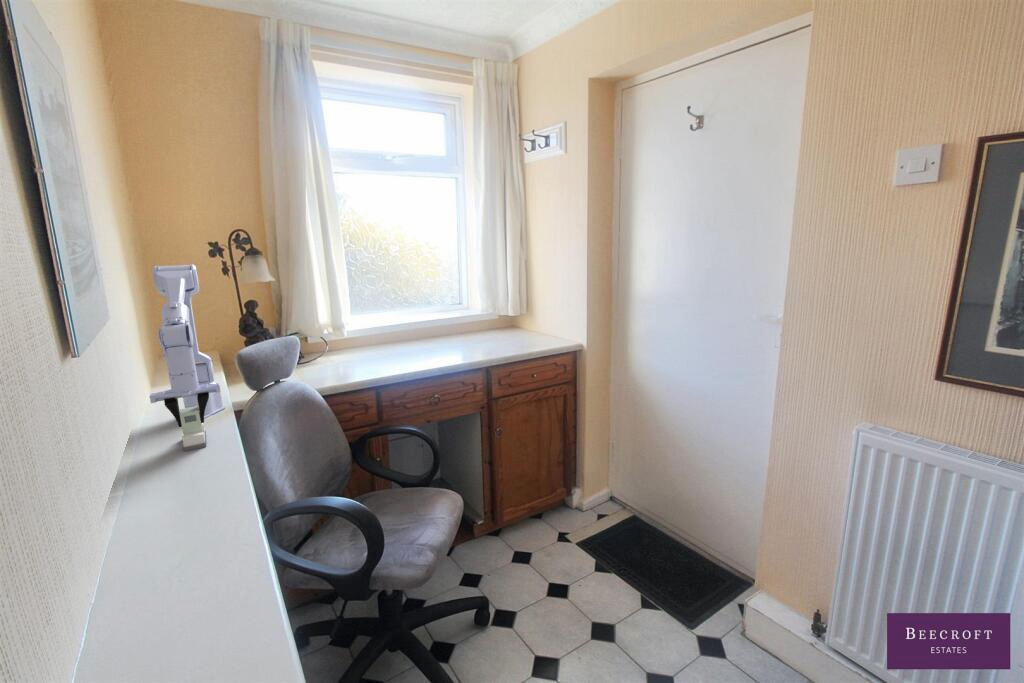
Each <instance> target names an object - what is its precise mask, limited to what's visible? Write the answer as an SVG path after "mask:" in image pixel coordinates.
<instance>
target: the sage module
mask: <svg viewBox="0 0 1024 683" xmlns="http://www.w3.org/2000/svg"><path fill="white" fill-rule="evenodd" d="M179 411H180V419H181V424H182V427H181V429H182V434H183V435H182V436H184V434H190V433H195V432H200V431H202V423H201V420H200V410H199V406H196V407H190V408H185V407H183V408H179Z"/></svg>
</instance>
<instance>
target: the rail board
mask: <svg viewBox="0 0 1024 683" xmlns="http://www.w3.org/2000/svg"><path fill="white" fill-rule="evenodd" d="M181 440H182V451H183V452H189V451H193V450H198V449H202V448H206V447H207V430H205V426H204V423H202V431H200V432H195V433H190V434H184V435H182V436H181Z"/></svg>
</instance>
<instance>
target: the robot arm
mask: <svg viewBox="0 0 1024 683" xmlns="http://www.w3.org/2000/svg"><path fill="white" fill-rule="evenodd" d="M152 278H153V284H154V286H155V288H156V289H157V291H158V292H159V293H160V295H161V296H164V297H165V298H166V299H165V300H166V303H165V304H164V305H163V306H162V307H161V328H158V330H157V333H158V335H157V336H158V341H159V345H160V348H161V350H162V354H163V357H165V362H166V367H167V374H168V377H169V378H168V379H169V385H170V389H166V390H163V391H158V392H152V393H150V394H149V400H150V404H156V403H157V402H162V401H163V403H164V404H163V405H164V406H165V408H166V409H168V410H169V412H170V413H171V415H172V416H173V418H174V419H175V421H176V422H177V425H178V428H182V424H181V419H180V406H179V399H181V398H182V400H183V406H184V407H183V408H190V407H196V406H199V410H200V420H201V423H203V424H204V423H205V419H206V418H208V417H210V416H212V415H214V414H217V413H219V412H220V411H222V410H225V409H226V406H224V405H223V400H222V393H221V386H220V382H215V371H214V369H215V368H214V365H213V361H212V358H211V357H210V356H209V354H208V355H207V354H206V353H203V352H201V351H200V349H199V344H198V337H197V336H198V335H197V330H196V329H197V328H196V324H195V317H194V310H193V306H192V305H193V304H192V302H193V296H195V295H196V294H197V295H198V294H199V293H200V284H199V276H198V270H197V267H196V265H195V264H181V265H180V264H179V265H154V267H152Z"/></svg>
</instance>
